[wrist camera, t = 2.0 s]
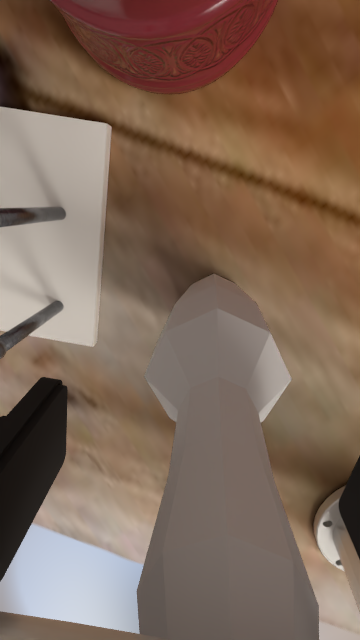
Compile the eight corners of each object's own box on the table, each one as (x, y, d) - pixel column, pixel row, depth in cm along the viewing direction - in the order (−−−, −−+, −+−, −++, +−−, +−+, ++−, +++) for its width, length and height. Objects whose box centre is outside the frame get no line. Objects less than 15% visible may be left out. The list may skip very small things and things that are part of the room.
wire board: (111, 126, 22) (107, 123, 21) (97, 341, 27) (93, 346, 26) (-62, 99, 22) (-74, 94, 21) (-41, 317, 27) (-49, 321, 27)
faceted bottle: (156, 304, 26) (-62, 726, 5) (213, 245, 24) (245, 540, 3) (213, 356, 27) (225, 872, 6) (272, 304, 25) (580, 806, 4)
